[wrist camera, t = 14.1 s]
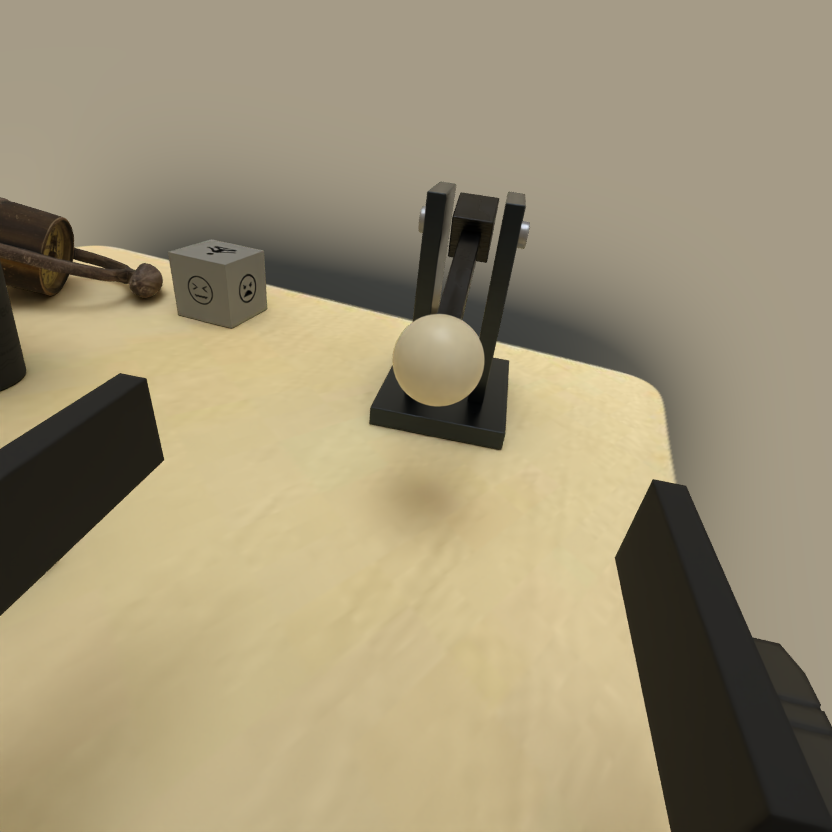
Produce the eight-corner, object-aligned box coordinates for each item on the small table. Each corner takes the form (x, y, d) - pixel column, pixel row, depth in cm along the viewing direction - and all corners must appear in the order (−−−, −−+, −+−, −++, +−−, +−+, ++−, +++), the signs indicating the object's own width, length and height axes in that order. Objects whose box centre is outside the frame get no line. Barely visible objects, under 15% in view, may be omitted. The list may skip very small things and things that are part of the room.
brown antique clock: (35, 202, 43) (-92, 190, 33) (170, 208, 41) (78, 197, 32) (51, 287, 45) (-62, 297, 36) (180, 295, 44) (97, 308, 34)
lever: (470, 432, 20) (485, 367, 17) (382, 415, 21) (381, 349, 18) (503, 250, 29) (516, 187, 26) (441, 240, 30) (447, 177, 27)
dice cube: (267, 309, 42) (263, 250, 40) (231, 328, 38) (224, 264, 36) (218, 297, 43) (211, 239, 41) (178, 314, 39) (167, 252, 37)
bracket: (501, 450, 28) (560, 220, 22) (369, 423, 29) (385, 193, 22) (506, 374, 37) (549, 191, 30) (403, 355, 38) (422, 173, 31)
